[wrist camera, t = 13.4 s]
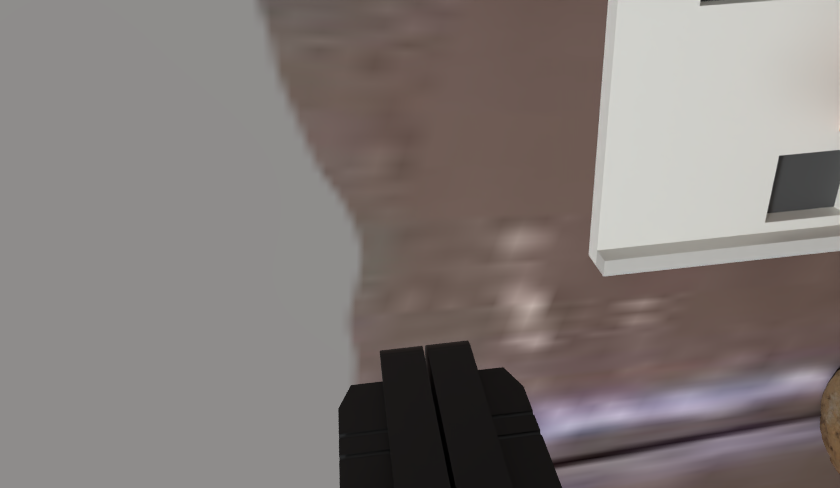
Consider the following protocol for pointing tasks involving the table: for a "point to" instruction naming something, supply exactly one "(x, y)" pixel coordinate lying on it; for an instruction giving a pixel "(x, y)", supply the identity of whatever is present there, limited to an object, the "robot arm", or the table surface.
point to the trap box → (717, 133)
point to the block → (831, 420)
